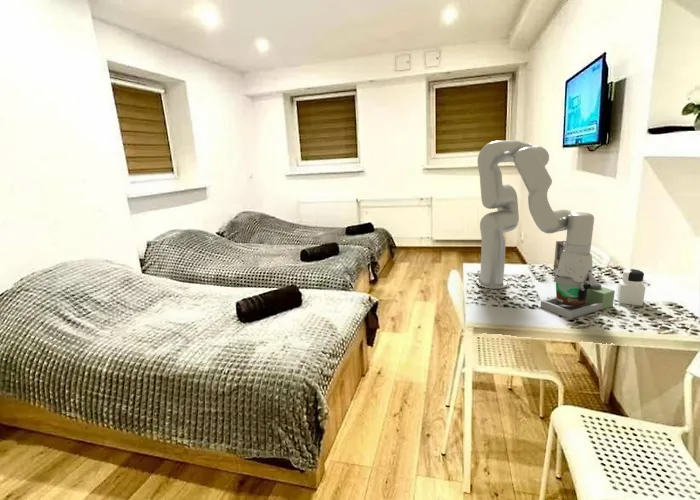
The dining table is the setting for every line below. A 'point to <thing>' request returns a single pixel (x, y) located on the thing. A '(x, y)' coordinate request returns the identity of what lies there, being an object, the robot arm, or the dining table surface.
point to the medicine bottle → (631, 287)
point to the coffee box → (558, 254)
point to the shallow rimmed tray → (594, 302)
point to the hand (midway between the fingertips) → (572, 296)
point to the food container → (568, 291)
